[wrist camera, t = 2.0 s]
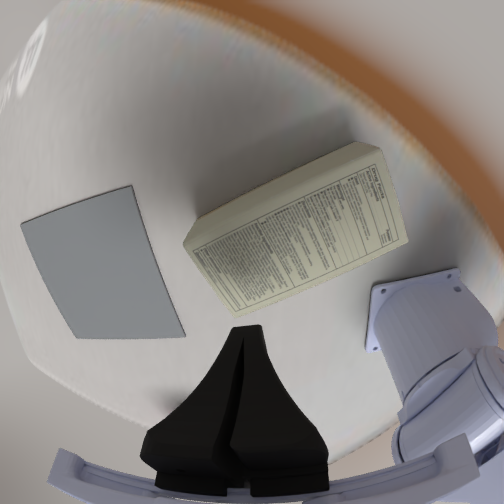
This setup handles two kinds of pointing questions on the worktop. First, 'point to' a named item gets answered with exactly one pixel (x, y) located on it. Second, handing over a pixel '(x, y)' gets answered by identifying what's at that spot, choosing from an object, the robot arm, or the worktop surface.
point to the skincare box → (299, 229)
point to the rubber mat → (103, 269)
